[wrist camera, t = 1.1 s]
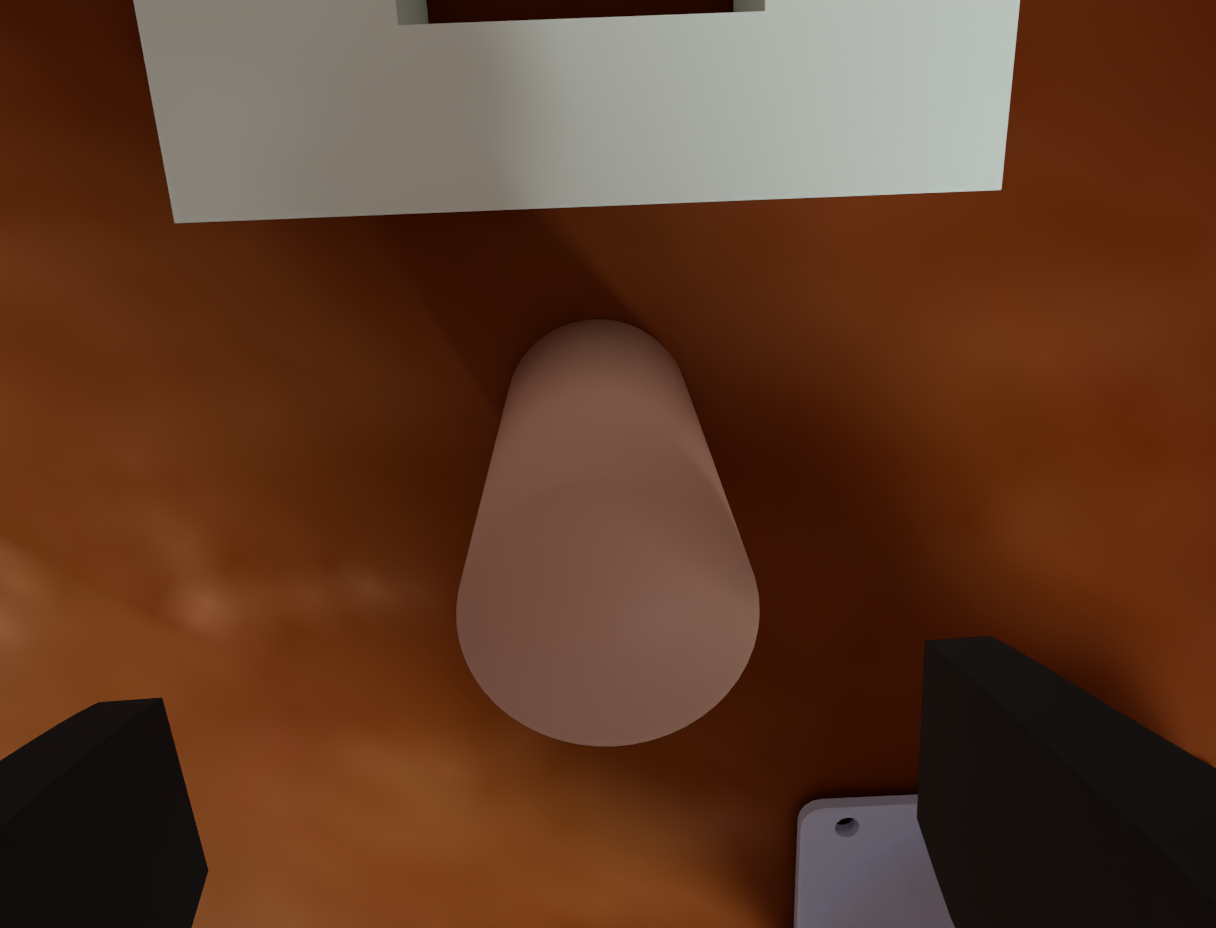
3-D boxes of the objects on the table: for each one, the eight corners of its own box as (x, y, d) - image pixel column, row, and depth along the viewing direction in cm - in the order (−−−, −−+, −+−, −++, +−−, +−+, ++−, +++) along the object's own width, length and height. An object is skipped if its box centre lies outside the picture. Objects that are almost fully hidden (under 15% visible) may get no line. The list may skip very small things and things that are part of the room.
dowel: (687, 315, 18) (763, 471, 11) (688, 488, 19) (756, 739, 12) (500, 322, 18) (441, 484, 10) (513, 496, 19) (469, 753, 12)
